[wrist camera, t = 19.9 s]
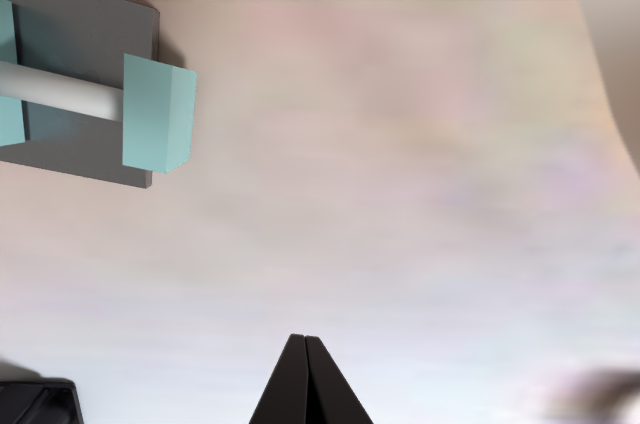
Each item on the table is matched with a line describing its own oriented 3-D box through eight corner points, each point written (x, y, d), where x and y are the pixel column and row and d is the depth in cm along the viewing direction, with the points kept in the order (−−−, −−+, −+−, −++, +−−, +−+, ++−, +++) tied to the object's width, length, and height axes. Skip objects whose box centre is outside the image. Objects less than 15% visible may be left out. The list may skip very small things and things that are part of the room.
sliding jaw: (199, 52, 16) (174, 40, 13) (187, 175, 18) (164, 192, 15) (-36, -11, 14) (-136, -44, 11) (-15, 133, 17) (-93, 142, 13)
